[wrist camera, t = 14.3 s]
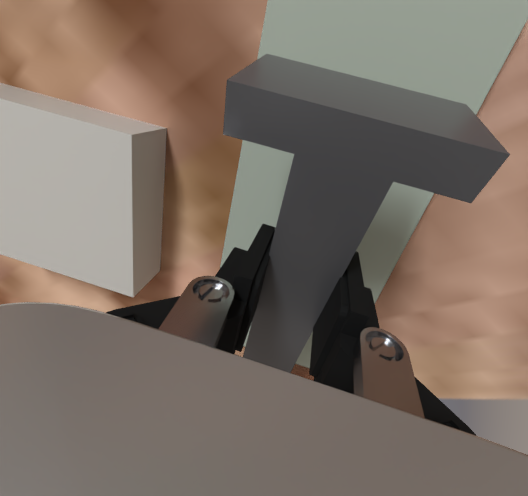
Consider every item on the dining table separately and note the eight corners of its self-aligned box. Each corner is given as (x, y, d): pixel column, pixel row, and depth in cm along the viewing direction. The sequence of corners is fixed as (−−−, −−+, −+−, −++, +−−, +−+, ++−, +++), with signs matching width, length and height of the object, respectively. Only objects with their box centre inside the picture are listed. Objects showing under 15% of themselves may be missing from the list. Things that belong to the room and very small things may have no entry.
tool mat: (529, 0, 10) (540, -5, 10) (335, 369, 20) (335, 376, 19) (281, -54, 11) (278, -62, 10) (211, 328, 21) (208, 334, 20)
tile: (131, 134, 12) (-73, 78, 13) (133, 297, 17) (-20, 247, 18) (169, 127, 15) (0, 81, 16) (162, 268, 20) (30, 226, 20)
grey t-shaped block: (315, 351, 19) (307, 408, 16) (227, 322, 19) (206, 373, 17) (466, 104, 8) (510, 154, 6) (266, 53, 9) (226, 79, 6)
